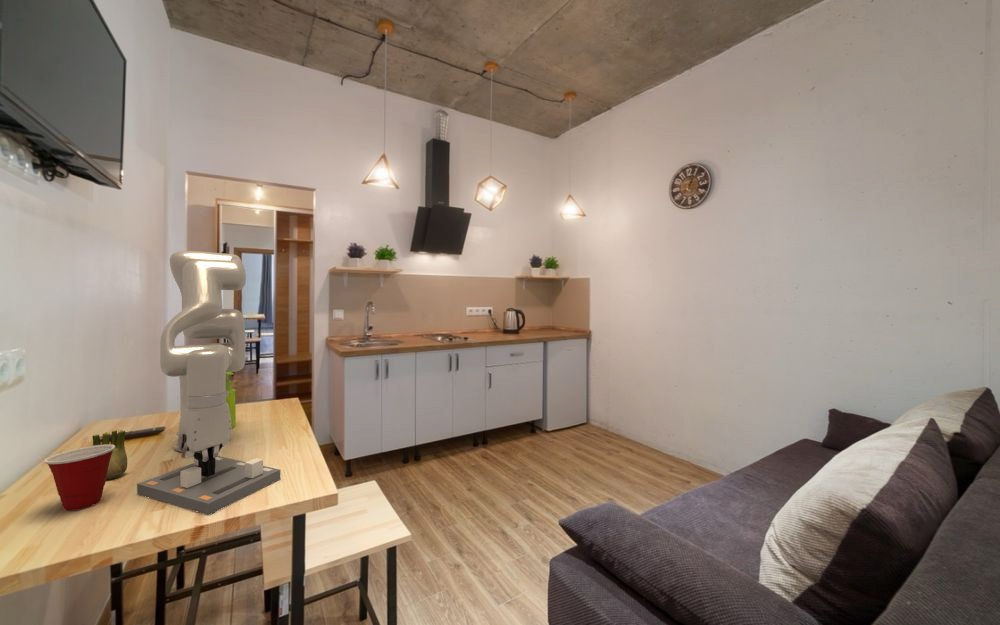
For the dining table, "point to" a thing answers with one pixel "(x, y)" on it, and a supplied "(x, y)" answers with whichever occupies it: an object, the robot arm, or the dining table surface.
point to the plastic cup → (80, 475)
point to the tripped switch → (190, 477)
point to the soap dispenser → (231, 400)
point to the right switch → (253, 468)
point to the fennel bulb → (114, 452)
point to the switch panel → (208, 486)
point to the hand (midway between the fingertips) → (206, 474)
